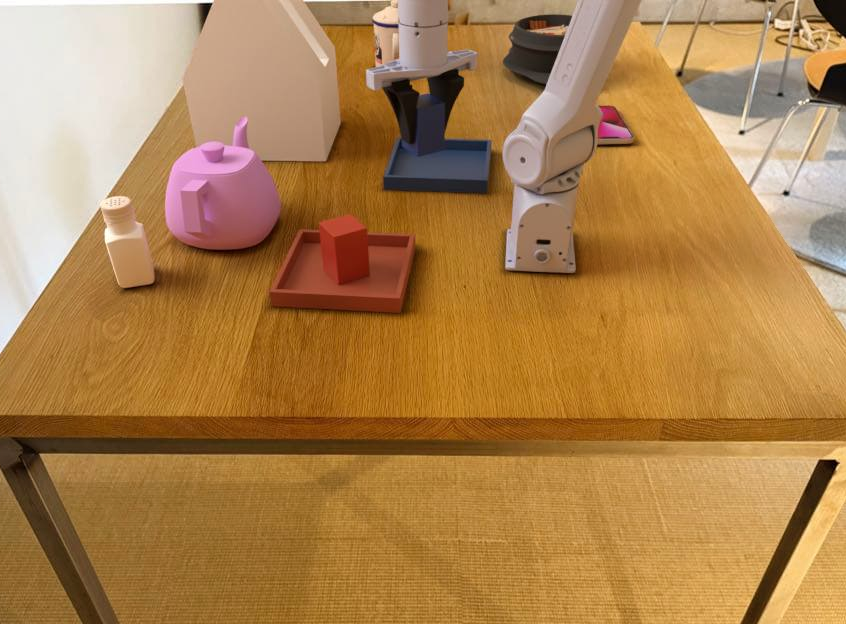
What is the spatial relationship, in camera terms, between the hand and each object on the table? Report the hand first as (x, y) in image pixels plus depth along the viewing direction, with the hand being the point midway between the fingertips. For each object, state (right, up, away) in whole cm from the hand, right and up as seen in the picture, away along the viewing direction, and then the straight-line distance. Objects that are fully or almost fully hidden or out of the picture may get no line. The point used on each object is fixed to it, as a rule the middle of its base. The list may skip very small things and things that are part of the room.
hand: (423, 137), depth 96 cm
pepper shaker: (-33, -20, -9) cm, 40 cm away
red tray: (-9, -19, -9) cm, 23 cm away
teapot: (-25, -12, 0) cm, 27 cm away
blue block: (0, -1, +1) cm, 1 cm away
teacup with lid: (-4, +30, +48) cm, 56 cm away
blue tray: (+2, 0, +13) cm, 13 cm away
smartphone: (+28, +10, +24) cm, 38 cm away
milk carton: (-23, +7, +22) cm, 33 cm away
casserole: (+25, +28, +45) cm, 58 cm away
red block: (-9, -19, -9) cm, 23 cm away
